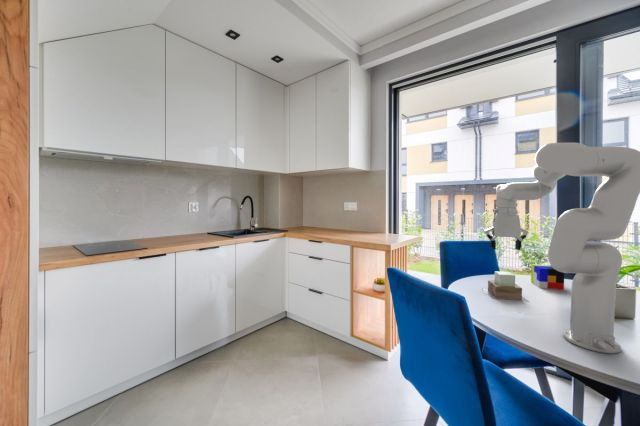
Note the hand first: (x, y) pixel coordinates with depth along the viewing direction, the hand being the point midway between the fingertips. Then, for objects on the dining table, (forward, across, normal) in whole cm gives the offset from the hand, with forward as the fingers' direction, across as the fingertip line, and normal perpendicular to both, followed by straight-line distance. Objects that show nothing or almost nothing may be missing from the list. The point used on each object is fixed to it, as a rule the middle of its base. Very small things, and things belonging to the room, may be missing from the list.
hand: (505, 249), depth 121 cm
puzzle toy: (+22, +28, +24) cm, 43 cm away
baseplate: (+22, 0, 0) cm, 22 cm away
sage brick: (+16, 0, 0) cm, 16 cm away
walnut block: (+21, 0, 0) cm, 21 cm away
